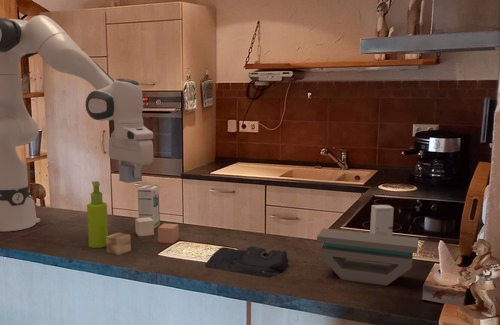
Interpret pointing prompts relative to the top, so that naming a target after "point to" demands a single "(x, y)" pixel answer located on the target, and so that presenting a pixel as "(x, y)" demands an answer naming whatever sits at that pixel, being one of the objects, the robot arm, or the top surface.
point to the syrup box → (149, 203)
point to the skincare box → (381, 219)
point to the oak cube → (118, 243)
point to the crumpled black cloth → (249, 261)
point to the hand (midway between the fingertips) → (130, 175)
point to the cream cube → (144, 226)
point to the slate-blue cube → (128, 173)
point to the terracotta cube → (168, 233)
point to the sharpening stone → (367, 255)
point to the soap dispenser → (97, 219)
